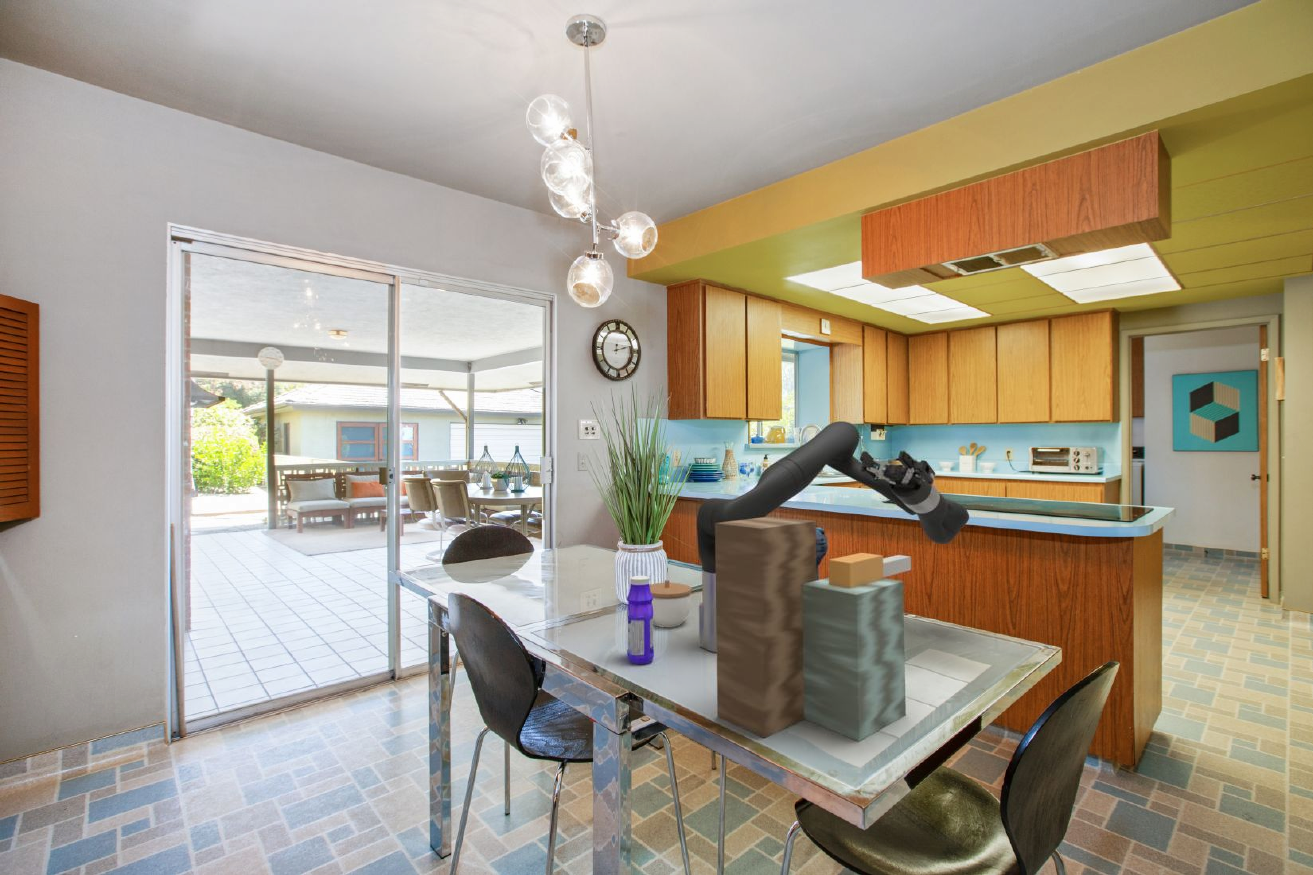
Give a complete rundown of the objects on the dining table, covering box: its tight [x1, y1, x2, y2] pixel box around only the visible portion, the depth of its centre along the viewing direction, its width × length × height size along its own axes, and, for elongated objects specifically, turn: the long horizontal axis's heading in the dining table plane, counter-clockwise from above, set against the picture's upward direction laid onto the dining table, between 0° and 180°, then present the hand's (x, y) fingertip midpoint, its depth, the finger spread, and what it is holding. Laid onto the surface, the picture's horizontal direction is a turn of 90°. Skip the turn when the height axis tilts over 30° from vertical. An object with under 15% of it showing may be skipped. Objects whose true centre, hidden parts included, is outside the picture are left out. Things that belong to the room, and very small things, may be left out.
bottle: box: [626, 575, 655, 665], centre depth 127 cm, size 7×6×17 cm
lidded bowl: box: [649, 579, 693, 629], centre depth 153 cm, size 13×13×11 cm
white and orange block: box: [827, 552, 912, 588], centre depth 103 cm, size 21×4×4 cm, turn 130°
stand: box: [715, 516, 907, 742], centre depth 99 cm, size 24×20×32 cm
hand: (881, 454), depth 124 cm, fingers open, 8 cm apart
